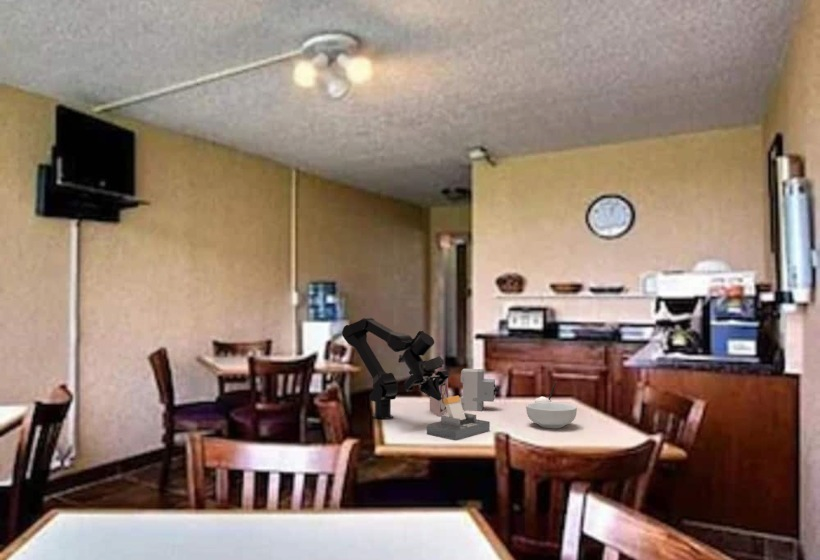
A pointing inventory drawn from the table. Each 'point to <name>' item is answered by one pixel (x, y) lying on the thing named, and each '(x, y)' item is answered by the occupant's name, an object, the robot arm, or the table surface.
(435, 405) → the pink box
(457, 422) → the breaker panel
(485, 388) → the circuit breaker
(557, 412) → the cereal bowl
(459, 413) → the lever
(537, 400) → the white mound with stick
